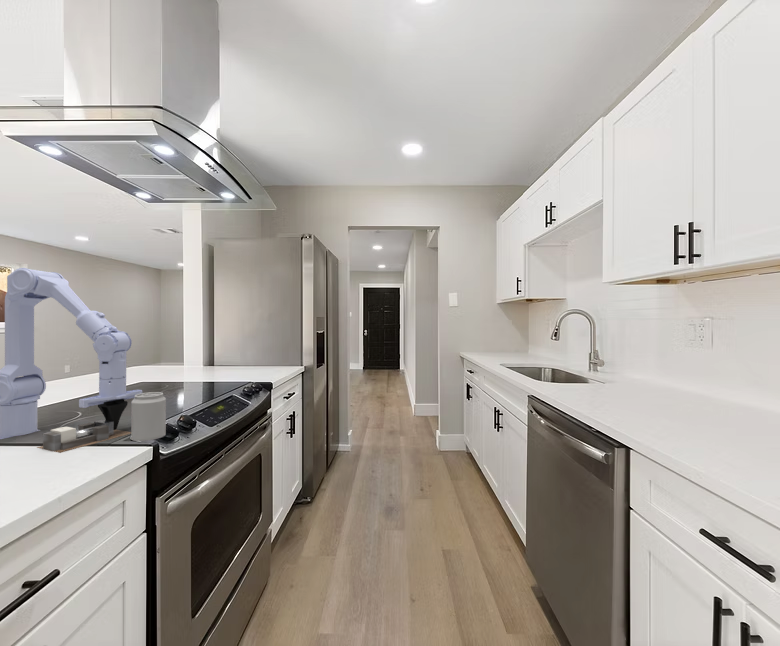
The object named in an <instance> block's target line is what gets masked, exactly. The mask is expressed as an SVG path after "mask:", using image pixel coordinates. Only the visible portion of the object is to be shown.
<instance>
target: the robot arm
mask: <svg viewBox="0 0 780 646" xmlns="http://www.w3.org/2000/svg"><path fill="white" fill-rule="evenodd" d="M6 284H7V285H6V294H5V297H4V366H3V367H2V368H0V440H3V439H7V438H12V437H19V436H24V435H27V434H28V435H29V434H33V433H36V432H39V431H41V430H40V429H38V401H39V400H40V399H41V396H42V395H43V394H44V393H45V391H46V388H47V383H46V379H45V378H44V376H43V370H42V369H41V368H40V367H38V366H37V365H36V364H35V306H37V305H38V304H39V303H40V302H42V301H44V300H47V299H49V298H52V299H54V300H55V301H56V302H57V303H58V304H59V305H61V306H62V307H63V308H64V309H66V310H67V311H68V312H69V313H70V314H72V315H73V316H74V317H75V318H76V322H75V325H76V326H77V327H78V328H79V329H80V330H81V331H82V332H83V333H84V334H85V335H86V336H87V337H88V338H89V339H90V340H91V341H92V342H93V343H92V347H93V350H94V351H95V353H97V360H98V361H99V362H98V365H99V366H98V369H99V371H98V376H99V377H98V394H97V395H93V396H90V397H85V398H80V399H79V400H78V407H79V408H83V409H85V408H86V409H87V408H89V407H93V406H97V408H99V411H100V412H101V413H102V415H103V418H104V420H108V421H114V430H118V426H119V422H120V420H121V417H122V416H123V415H122V414H123V413H124V411H125V409H126V408H127V406H128V402H129V401H126V400H129V399H130V400H131V399H134V398H135V397H134V396H135V395H136V394H140V393H143V390H142V389H133V390H127V352H128V351H129V350H130V349H131V348H132V347H131V346H132V341H133V340H132V338H131V337H130V335H129V333H128V332H126V331H123V330H119V329H118V327H116V326H115V325H113V324H112V323H111V322H110V321H109V320H108V319H107V318H106V314H105V313H103V312H102V311H100V312H99V311H98V310H90V308H89V307H88V306H87V305H86V304H85V303H84V301H83V300H82V299H81V298H80V297H79V295H77V294H76V293H75V291H74V290H73V289H72V288H71V287H70V282H69V280H67V279H66V278H64V276H63V275H62V274H61V273H59V272H55V271H45V270H38V269H30V268H27V267H19V268H16V269H15V270H13V271H12V272H10V273H9V274H8V275H7V277H6Z"/></svg>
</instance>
